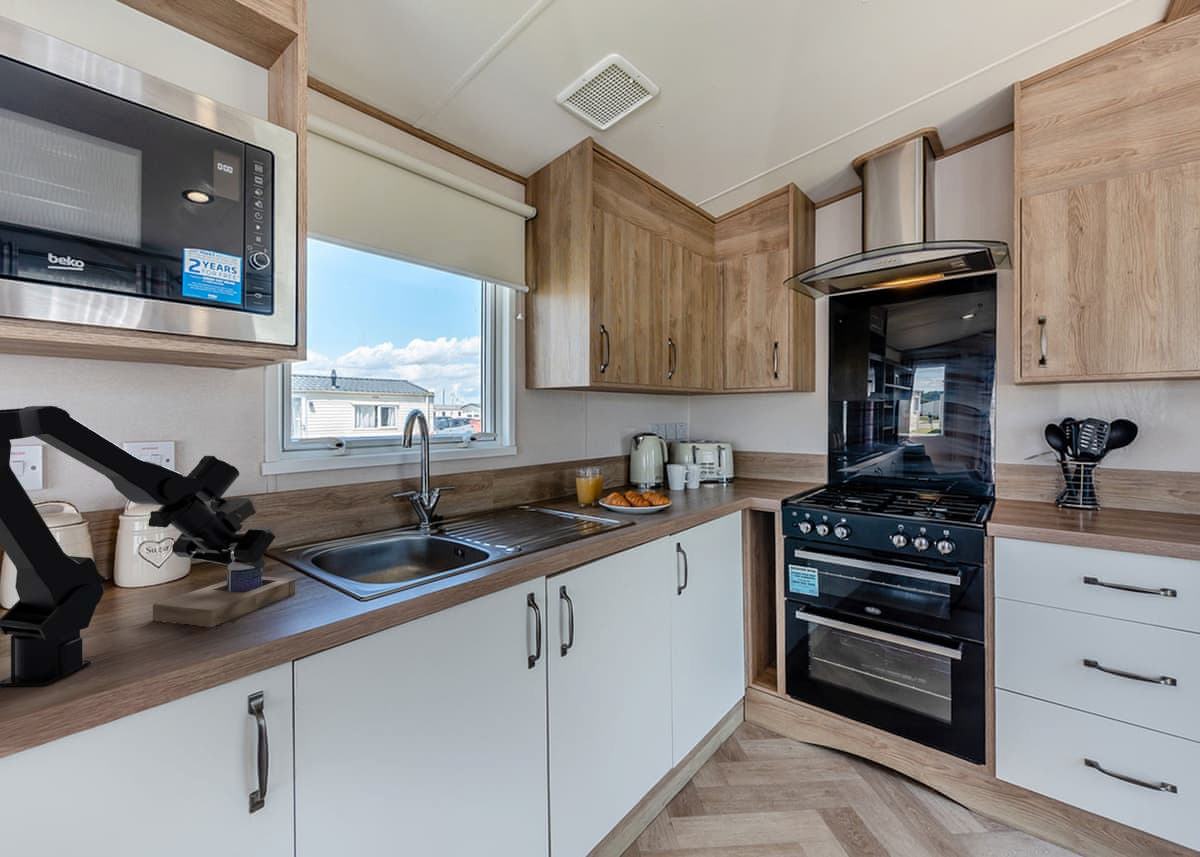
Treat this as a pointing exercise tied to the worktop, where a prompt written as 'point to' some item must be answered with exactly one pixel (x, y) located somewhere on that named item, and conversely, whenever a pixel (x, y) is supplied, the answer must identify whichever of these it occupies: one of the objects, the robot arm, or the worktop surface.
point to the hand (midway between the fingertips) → (251, 565)
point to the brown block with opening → (221, 602)
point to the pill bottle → (243, 577)
